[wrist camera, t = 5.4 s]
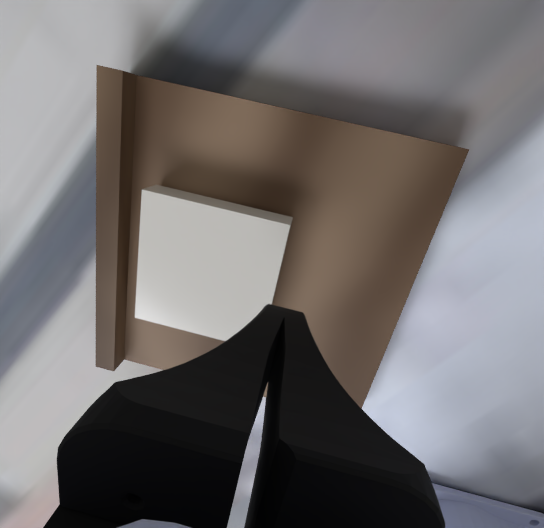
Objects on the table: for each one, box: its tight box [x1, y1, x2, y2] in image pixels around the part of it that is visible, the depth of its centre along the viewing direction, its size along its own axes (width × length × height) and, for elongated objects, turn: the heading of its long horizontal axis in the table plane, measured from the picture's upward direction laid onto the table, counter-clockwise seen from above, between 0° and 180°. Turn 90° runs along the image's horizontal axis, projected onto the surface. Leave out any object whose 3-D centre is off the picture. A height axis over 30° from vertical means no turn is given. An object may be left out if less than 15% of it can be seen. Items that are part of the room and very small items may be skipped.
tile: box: [135, 185, 293, 341], centre depth 15 cm, size 2×6×6 cm
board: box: [96, 65, 469, 408], centre depth 16 cm, size 14×14×2 cm
